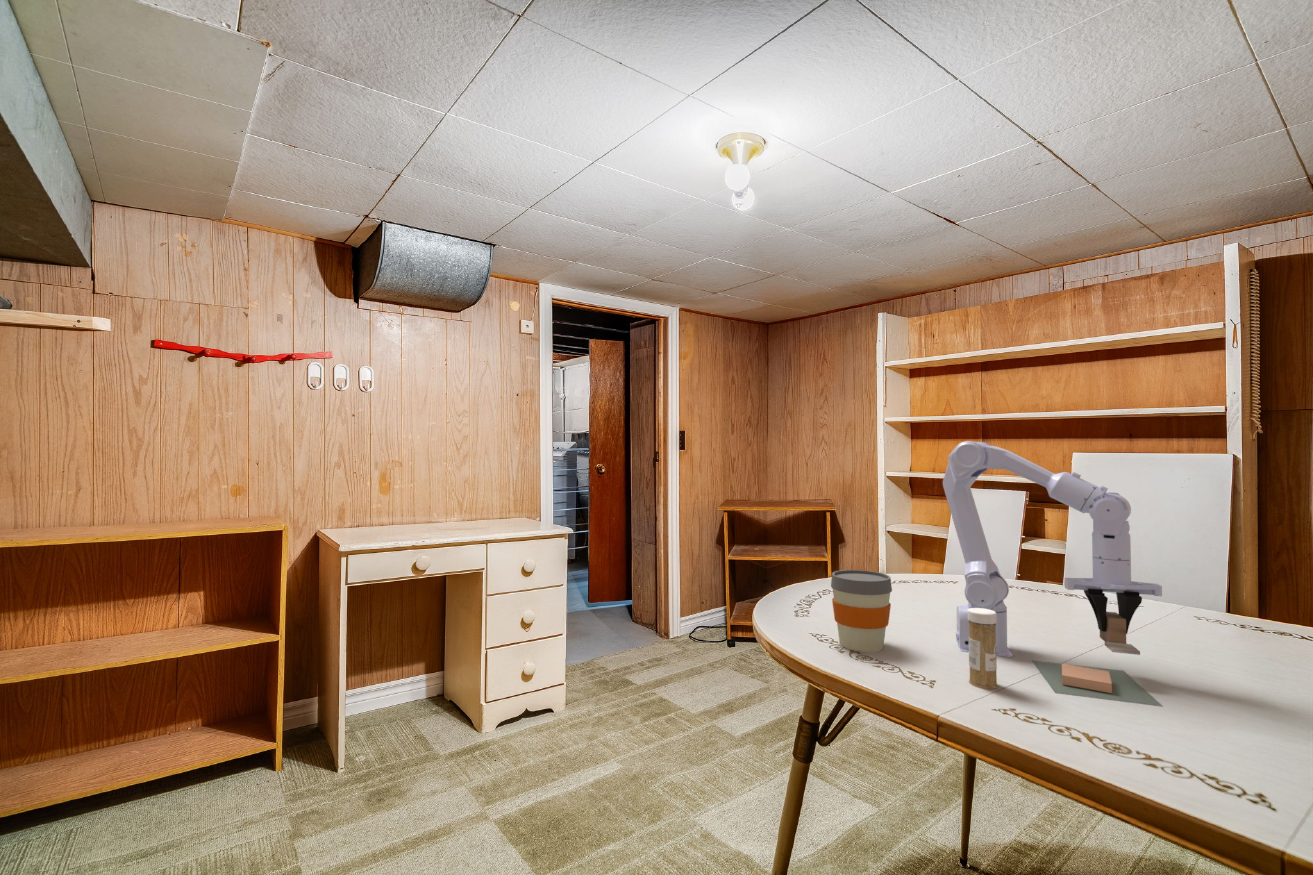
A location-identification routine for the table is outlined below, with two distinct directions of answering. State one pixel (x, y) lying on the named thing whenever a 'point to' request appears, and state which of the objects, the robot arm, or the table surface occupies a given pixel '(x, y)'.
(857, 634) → the reusable coffee cup
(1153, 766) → the table surface
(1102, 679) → the tile
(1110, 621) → the two-tone block stack
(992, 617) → the sprinkles bottle
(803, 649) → the table surface
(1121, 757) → the table surface
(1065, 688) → the mat
